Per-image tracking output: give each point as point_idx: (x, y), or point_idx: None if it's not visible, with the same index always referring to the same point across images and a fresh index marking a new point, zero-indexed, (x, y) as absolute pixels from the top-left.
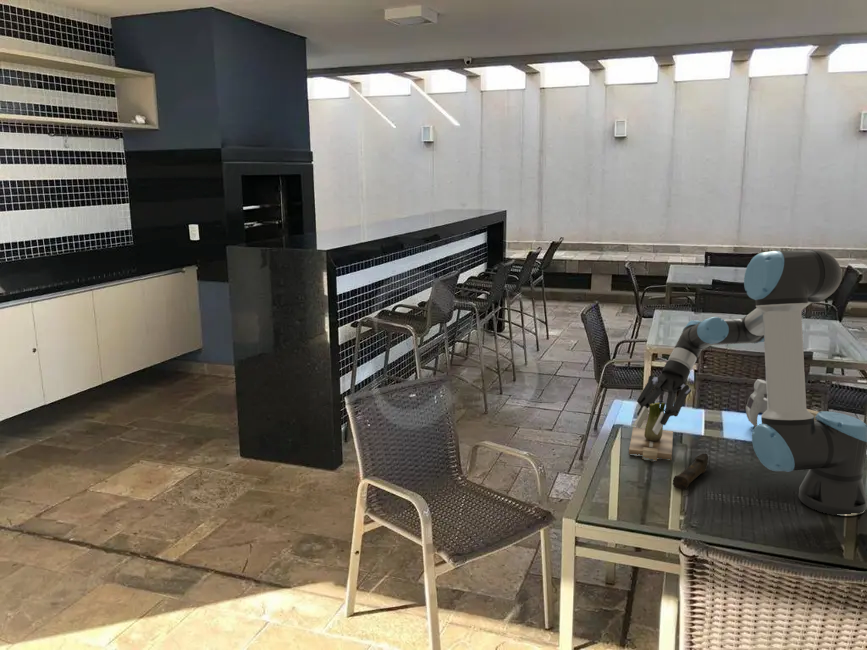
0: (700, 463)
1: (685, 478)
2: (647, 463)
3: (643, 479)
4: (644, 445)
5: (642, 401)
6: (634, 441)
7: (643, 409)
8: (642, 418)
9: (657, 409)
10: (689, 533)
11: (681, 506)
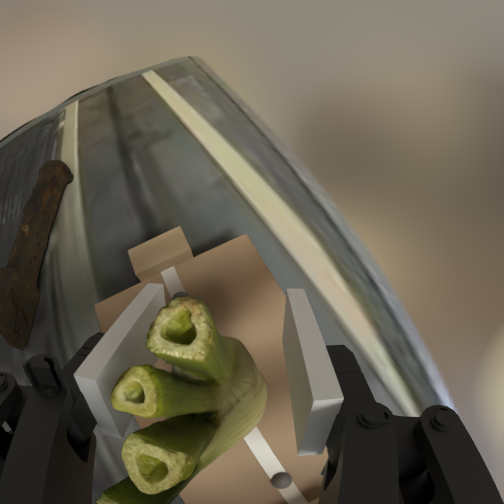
0: (9, 261)
1: (41, 166)
2: None
3: (139, 160)
4: (218, 311)
5: (409, 450)
6: (278, 318)
7: (316, 371)
8: (292, 360)
9: (161, 423)
10: (55, 111)
11: (60, 142)
